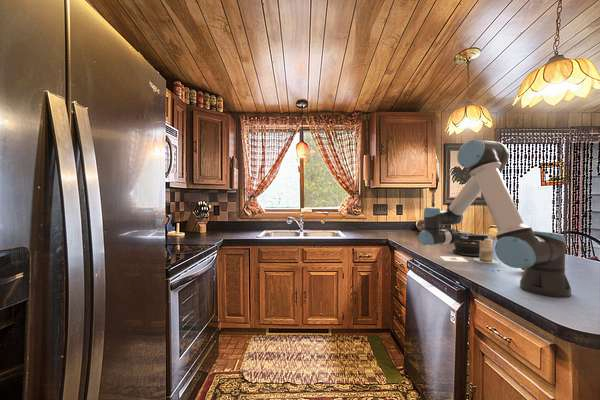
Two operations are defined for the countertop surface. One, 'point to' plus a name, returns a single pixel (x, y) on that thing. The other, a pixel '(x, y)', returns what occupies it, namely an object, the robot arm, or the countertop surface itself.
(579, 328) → the countertop surface
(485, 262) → the sage pad
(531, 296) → the countertop surface
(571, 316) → the countertop surface
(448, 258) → the board
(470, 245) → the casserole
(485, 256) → the maple post
